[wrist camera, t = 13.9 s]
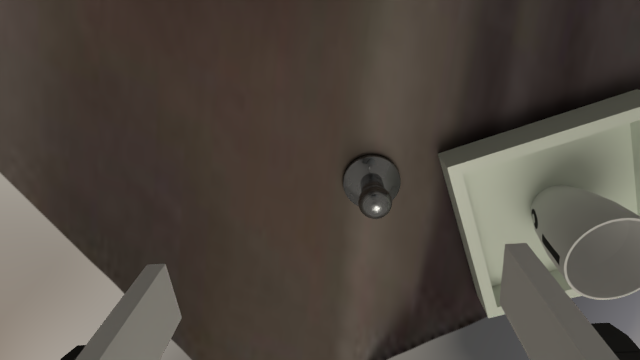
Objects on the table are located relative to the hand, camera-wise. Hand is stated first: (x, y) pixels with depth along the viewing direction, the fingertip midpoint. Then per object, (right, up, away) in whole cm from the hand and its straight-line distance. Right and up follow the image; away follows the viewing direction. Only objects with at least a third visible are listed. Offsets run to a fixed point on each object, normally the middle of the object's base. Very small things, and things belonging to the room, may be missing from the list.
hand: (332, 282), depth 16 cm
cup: (+25, +1, +27) cm, 36 cm away
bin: (+24, +1, +27) cm, 36 cm away
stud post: (+5, +4, +27) cm, 28 cm away
